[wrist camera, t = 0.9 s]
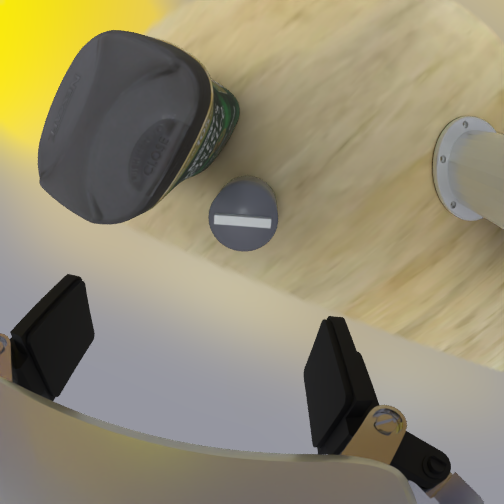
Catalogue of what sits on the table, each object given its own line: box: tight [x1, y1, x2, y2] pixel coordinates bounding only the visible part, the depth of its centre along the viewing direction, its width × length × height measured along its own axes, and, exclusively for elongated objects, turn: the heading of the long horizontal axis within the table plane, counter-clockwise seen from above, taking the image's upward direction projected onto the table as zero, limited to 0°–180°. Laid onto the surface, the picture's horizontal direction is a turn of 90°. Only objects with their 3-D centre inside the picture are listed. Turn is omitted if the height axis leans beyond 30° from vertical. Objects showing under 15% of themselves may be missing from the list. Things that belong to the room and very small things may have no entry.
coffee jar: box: [38, 30, 239, 224], centre depth 18 cm, size 10×8×19 cm
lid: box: [209, 176, 278, 251], centre depth 27 cm, size 6×6×6 cm
